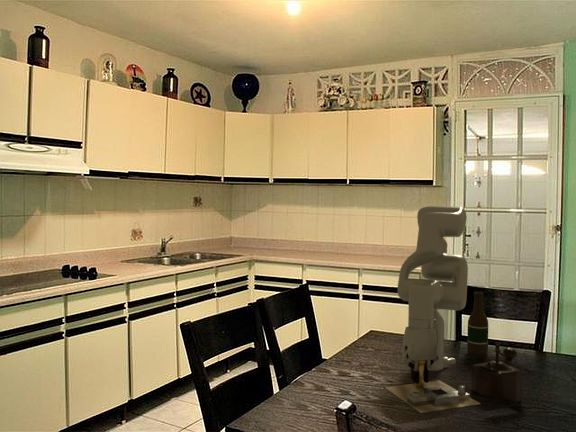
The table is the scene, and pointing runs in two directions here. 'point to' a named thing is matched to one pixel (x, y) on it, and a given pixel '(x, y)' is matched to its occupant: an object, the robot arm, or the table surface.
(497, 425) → the table surface
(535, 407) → the table surface
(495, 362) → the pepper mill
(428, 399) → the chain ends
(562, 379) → the table surface
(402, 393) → the maple board
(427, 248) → the robot arm
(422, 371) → the brass pin
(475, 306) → the beer bottle
